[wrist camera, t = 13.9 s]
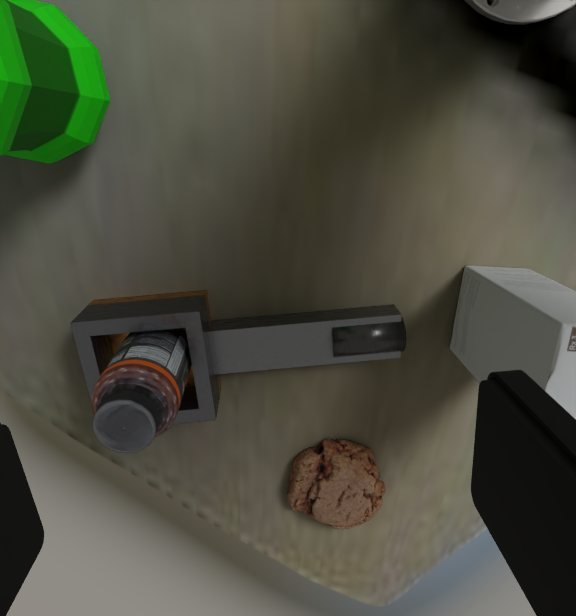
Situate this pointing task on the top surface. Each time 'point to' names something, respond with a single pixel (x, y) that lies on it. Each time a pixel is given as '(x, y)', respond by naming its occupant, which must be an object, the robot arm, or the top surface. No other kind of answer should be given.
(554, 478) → the robot arm
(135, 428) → the supplement bottle
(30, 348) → the top surface
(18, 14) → the plastic bottle
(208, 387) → the grey long handled piece
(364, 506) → the cookie
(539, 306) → the skincare box
